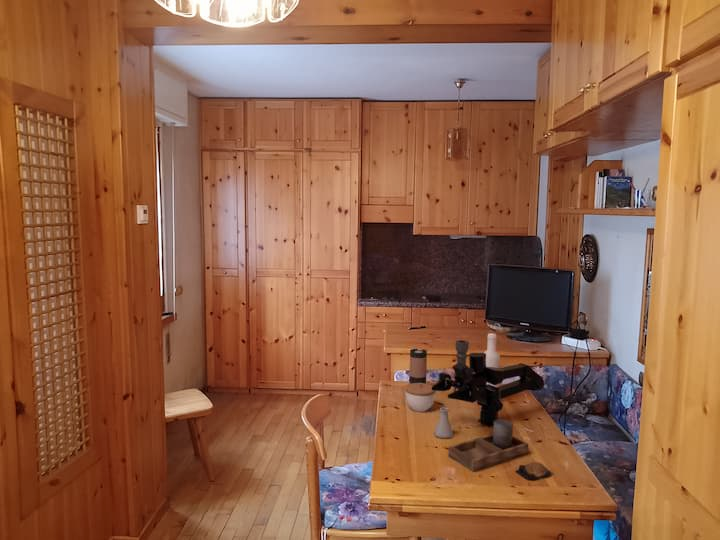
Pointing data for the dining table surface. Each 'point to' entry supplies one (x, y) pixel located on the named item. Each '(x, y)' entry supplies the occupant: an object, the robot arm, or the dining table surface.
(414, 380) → the travel mug
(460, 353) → the candle holder
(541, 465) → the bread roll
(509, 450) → the cruet stand
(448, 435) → the flask
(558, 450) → the dining table surface
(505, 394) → the robot arm
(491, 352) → the bottle
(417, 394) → the lidded bowl
